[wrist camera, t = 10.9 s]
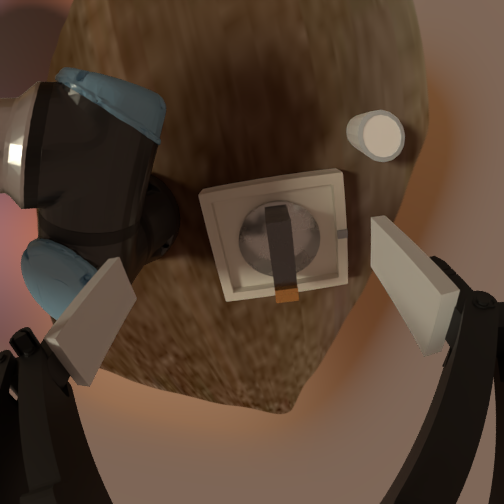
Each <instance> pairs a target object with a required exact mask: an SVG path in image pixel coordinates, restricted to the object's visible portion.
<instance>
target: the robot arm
mask: <svg viewBox="0 0 504 504" xmlns="http://www.w3.org/2000/svg"><path fill="white" fill-rule="evenodd" d="M55 80H57V82H37V83H35V85H33V86H32V87H31V88H30V89H28V90H27V91H26V92H25V93H24V94H23V95H21V96H19V97H18V98H0V193H6V194H8V195H9V196H10V197H11V198H12V199H13V200H14V201H15V202H16V204H17V205H18V206H19V207H20V208H21V209H30V208H39V221H38V228H39V233H38V238H37V239H35V240H33V241H31V242H30V243H29V244H28V247H27V249H26V250H25V251H24V253H23V255H22V259H21V270H22V275H23V278H24V281H25V284H26V286H27V288H28V290H29V291H30V293H31V294H32V296H33V298H34V299H35V300H36V301H37V303H38V304H39V305H40V306H41V307H42V308H43V309H44V310H45V311H46V312H47V313H48V314H49V315H51V316H52V317H53V318H55V319H56V320H57V321H56V322H55V324H54V325H53V326H52V328H51V329H50V330H49V332H48V333H47V335H46V336H45V337H44V339H43V341H42V342H41V344H40V343H39V341H38V340H37V338H36V337H35V335H34V334H33V332H32V330H31V329H30V328H29V327H25V328H22V329H20V330H19V331H18V332H16V333H15V334H14V335H13V336H12V338H11V339H10V342H9V343H10V345H11V346H12V348H13V349H14V351H15V352H16V353H17V355H18V356H19V357H17V358H15V357H14V356H13V354H12V353H11V351H9V350H4V351H3V352H0V504H113V503H112V501H111V499H110V497H109V495H108V492H107V490H106V488H105V486H104V484H103V481H102V479H101V477H100V474H99V472H98V470H97V467H96V465H95V462H94V459H93V457H92V454H91V451H90V448H89V446H88V443H87V440H86V437H85V434H84V430H83V427H82V424H81V421H80V417H79V414H78V410H77V406H76V402H75V398H74V394H73V390H72V387H71V385H70V383H69V382H68V379H69V377H70V376H71V377H72V378H73V380H74V381H75V382H76V383H77V385H82V386H90V385H91V383H92V381H93V379H94V377H95V375H96V373H97V371H98V369H99V367H100V365H101V363H102V361H103V359H104V357H105V355H106V353H107V351H108V350H109V348H110V346H111V344H112V342H113V340H114V338H115V336H116V335H117V333H118V331H119V329H120V327H121V326H122V324H123V322H124V320H125V318H126V317H127V315H128V313H129V311H130V310H131V308H132V306H133V304H134V303H135V301H136V299H137V298H136V296H135V293H134V291H133V289H132V286H131V284H132V283H133V281H134V280H135V278H136V276H137V275H138V273H139V272H140V270H141V269H142V268H143V266H144V265H146V264H148V263H150V262H152V261H155V260H157V259H158V258H160V257H161V256H163V255H164V254H165V253H166V252H167V251H168V249H169V248H170V247H171V245H172V244H173V242H174V240H175V238H176V236H177V234H178V230H179V225H180V215H179V209H178V205H177V202H176V200H175V198H174V196H173V194H172V193H171V191H170V190H169V189H168V187H167V186H166V185H165V184H164V183H163V182H162V181H160V180H159V179H158V178H156V177H154V176H152V175H151V171H152V167H153V163H154V159H155V156H156V152H157V148H158V145H160V143H161V140H160V134H161V130H162V126H163V122H164V118H165V114H166V105H165V102H164V100H163V98H162V97H161V96H160V95H158V94H157V93H155V92H153V91H151V90H149V89H146V88H144V87H141V86H138V85H136V84H133V83H130V82H127V81H124V80H121V79H118V78H114V77H111V76H107V75H103V74H99V73H95V72H89V71H84V70H80V69H76V68H69V67H66V68H63V69H61V70H60V72H59V73H58V74H57V75H56V78H55ZM371 268H372V269H373V271H374V272H375V274H376V275H377V277H378V278H379V280H380V282H381V283H382V285H383V286H384V288H385V290H386V291H387V293H388V294H389V296H390V297H391V299H392V301H393V302H394V304H395V306H396V307H397V309H398V311H399V312H400V314H401V316H402V318H403V319H404V321H405V323H406V324H407V326H408V328H409V330H410V332H411V333H412V335H413V337H414V339H415V340H416V342H417V344H418V346H419V348H420V349H421V352H422V353H423V355H424V357H425V356H429V355H432V354H435V353H438V352H441V350H442V348H443V345H444V342H445V339H446V341H447V343H448V344H449V346H450V349H449V351H448V353H447V356H446V359H445V361H444V364H443V367H444V368H443V371H442V374H441V377H440V380H439V384H438V386H437V389H436V392H435V395H434V397H433V400H432V403H431V405H430V408H429V411H428V413H427V416H426V418H425V421H424V423H423V425H422V427H421V430H420V432H419V434H418V436H417V438H416V441H415V443H414V445H413V447H412V449H411V451H410V453H409V455H408V457H407V459H406V461H405V463H404V464H403V466H402V468H401V470H400V472H399V473H398V475H397V477H396V479H395V480H394V482H393V484H392V485H391V487H390V489H389V490H388V492H387V494H386V495H385V497H384V498H383V500H382V501H381V503H380V504H456V502H457V500H458V498H459V496H460V493H461V491H462V489H463V487H464V484H465V481H466V479H467V477H468V474H469V471H470V469H471V466H472V463H473V460H474V457H475V454H476V451H477V448H478V445H479V442H480V438H481V435H482V431H483V427H484V423H485V419H486V415H487V410H488V406H489V401H490V395H491V389H492V384H493V377H494V385H495V400H496V447H495V461H494V472H493V479H492V486H491V493H490V498H489V504H504V302H497V301H496V299H495V298H494V297H493V296H491V295H490V294H489V293H486V292H483V291H473V290H472V289H471V288H470V287H469V286H468V285H467V284H466V283H465V281H464V280H463V279H461V277H460V276H459V275H458V274H456V272H455V271H454V270H453V269H451V267H450V266H449V265H448V264H447V263H446V262H445V261H443V260H441V259H440V258H438V257H436V256H432V257H428V256H427V255H426V254H425V253H424V252H423V251H422V250H421V249H420V248H419V247H418V246H417V245H416V244H415V243H414V242H413V241H412V240H411V239H410V238H409V237H408V236H407V235H406V234H405V233H404V232H403V231H401V230H400V229H399V228H398V227H397V226H396V225H395V224H394V223H393V222H392V221H390V220H389V219H388V218H387V217H386V216H385V215H384V216H376V217H371ZM10 388H11V389H12V390H13V392H14V393H15V394H16V395H17V396H18V399H17V400H15V399H14V398H13V397H12V396H11V395H10V393H9V389H10Z"/></svg>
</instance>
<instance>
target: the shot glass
mask: <svg viewBox="0 0 504 504" xmlns="http://www.w3.org/2000/svg"><path fill="white" fill-rule="evenodd" d="M346 134H347V138H348V141H349V142H350V143H351V145H352V146H353V147H355V148H356V149H358V150H359V151H361V152H362V153H364V154H365V155H367V156H368V157H370V158H371V159H373V160H374V161H380V162H387V161H391V160H393V159H394V158H396V157H397V156H398V155H399V154H400V152H401V151H402V149H403V147H404V141H405V133H404V129H403V126H402V124H401V123H400V121H399V120H398V118H397V117H396V116H394V115H393V114H392V113H390V112H388V111H384V110H376V111H371V112H367V113H364V114H360V115H356V116H355V117H353V118H352V119H351V120H350V121H349V123H348V125H347V130H346Z"/></svg>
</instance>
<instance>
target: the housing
mask: <svg viewBox="0 0 504 504" xmlns="http://www.w3.org/2000/svg"><path fill="white" fill-rule="evenodd" d="M198 197H199V201H200V205H201V209H202V213H203V217H204V221H205V225H206V229H207V233H208V236H209V240H210V244H211V248H212V252H213V255H214V259H215V263H216V267H217V270H218V274H219V278H220V281H221V285H222V288H223V292H224V296H225V299H226V302H227V301H235V300H243V299H251V298H258V297H266V296H273V295H275V287H274V280H273V276H268V275H264V274H262V273H260V272H258V271H256V270H254V269H253V268H252V267H251V266H250V265H249V264H248V263H247V262H246V261H245V259H244V258H243V256H242V254H241V252H240V248H239V233H240V228H241V225H242V223H243V221H244V219H245V218H246V216H247V215H248V214H249V213H250V212H251V211H252V210H253V209H255V208H256V207H258V206H259V205H262V204H264V203H267V202H270V201H276V200H284V201H290V202H294V203H297V204H299V205H301V206H302V207H304V208H305V209H306V210H308V211H309V212H310V213H311V215H312V216H313V217H314V219H315V221H316V223H317V225H318V227H319V231H320V246H319V249H318V252H317V254H316V256H315V258H314V259H313V261H312V262H311V263H310V264H309V265H308V266H307V267H306V268H304V269H303V270H301V271H299V272H297V273H296V277H297V286H298V292H300V291H307V290H313V289H319V288H325V287H332V286H337V285H343V284H348V250H347V238H348V230H347V224H346V207H345V193H344V181H343V172H341V171H340V170H338V169H337V168H332V169H324V170H315V171H308V172H300V173H293V174H286V175H279V176H273V177H266V178H260V179H254V180H248V181H242V182H237V183H231V184H226V185H220V186H215V187H210V188H205V189H202V191H201V192H200V193H199V195H198Z"/></svg>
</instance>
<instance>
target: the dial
mask: <svg viewBox="0 0 504 504" xmlns="http://www.w3.org/2000/svg"><path fill="white" fill-rule="evenodd" d="M319 246H320V231H319V227H318V225H317V223H316V221H315V219H314V217H313V216H312V215H311V213H310V212H309V211H308V210H306V209H305V208H304V207H302V206H301V205H299V204H297V203H294V202H290V201H284V200H276V201H270V202H267V203H264V204H262V205H259V206H258V207H256V208H255V209H253V210H252V211H251V212H250V213H249V214H248V215H247V216H246V218H245V219H244V221H243V223H242V225H241V228H240V233H239V248H240V252H241V254H242V256H243V258H244V259H245V261H246V262H247V263H248V264H249V265H250V266H251V267H252V268H253V269H254V270H256V271H258V272H260V273H262V274H264V275H268V276H273V280H274V287H275V296H276V303H282V302H290V301H298V300H299V296H298V286H297V277H296V273H297V272H299V271H301V270H303V269H304V268H306V267H307V266H308V265H309V264H310V263H311V262H312V261H313V259H314V258H315V256H316V254H317V252H318V249H319Z"/></svg>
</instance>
